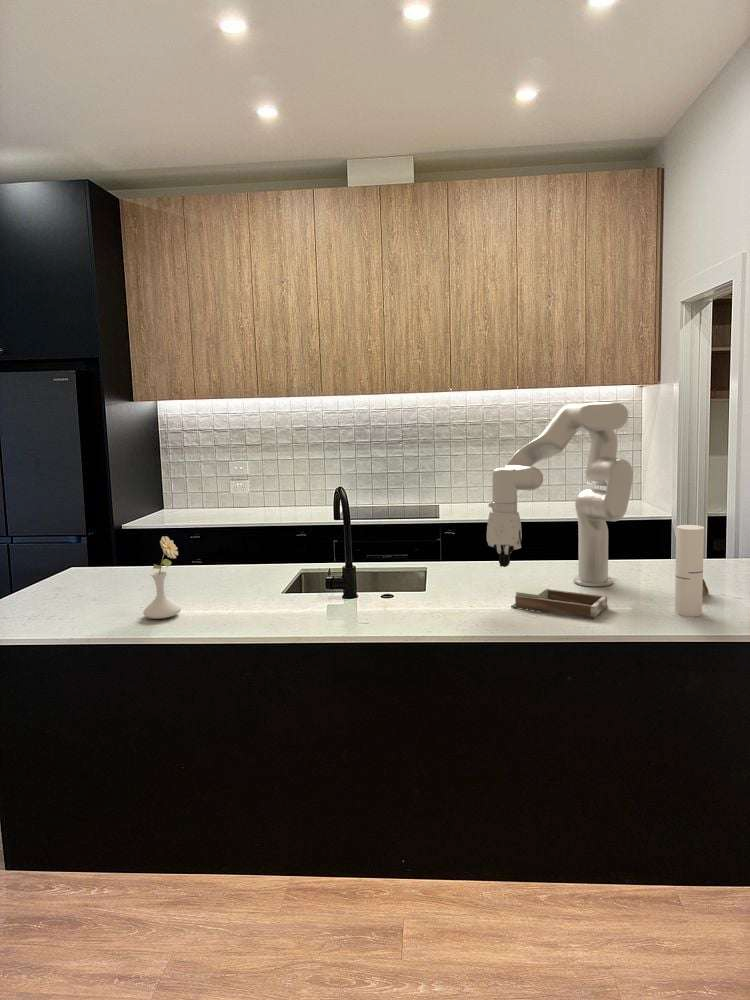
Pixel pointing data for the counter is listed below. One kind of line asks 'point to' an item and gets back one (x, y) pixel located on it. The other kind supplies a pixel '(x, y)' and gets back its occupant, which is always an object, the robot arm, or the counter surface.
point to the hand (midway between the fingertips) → (504, 565)
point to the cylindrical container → (689, 570)
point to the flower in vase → (161, 603)
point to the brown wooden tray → (565, 604)
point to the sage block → (533, 592)
